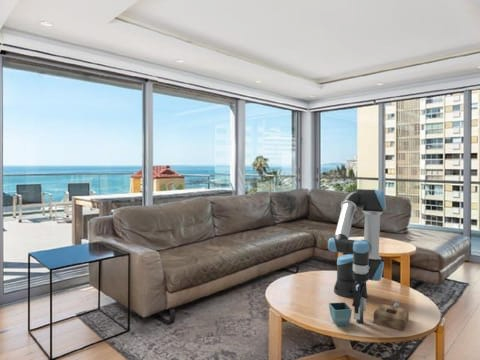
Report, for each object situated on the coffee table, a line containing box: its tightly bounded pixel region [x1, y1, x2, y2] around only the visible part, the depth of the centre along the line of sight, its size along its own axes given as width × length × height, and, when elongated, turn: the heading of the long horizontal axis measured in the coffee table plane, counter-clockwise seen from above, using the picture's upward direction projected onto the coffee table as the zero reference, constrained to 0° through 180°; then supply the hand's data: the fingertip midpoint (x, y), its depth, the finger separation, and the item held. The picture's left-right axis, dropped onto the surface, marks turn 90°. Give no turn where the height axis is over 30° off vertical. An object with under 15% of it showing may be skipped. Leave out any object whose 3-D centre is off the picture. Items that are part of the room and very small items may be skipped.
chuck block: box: [373, 300, 410, 331], centre depth 175 cm, size 14×26×5 cm, turn 145°
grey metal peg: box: [355, 296, 365, 325], centre depth 168 cm, size 3×3×13 cm
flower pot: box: [328, 301, 353, 327], centre depth 167 cm, size 9×9×9 cm
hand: (359, 314), depth 169 cm, fingers open, 10 cm apart
